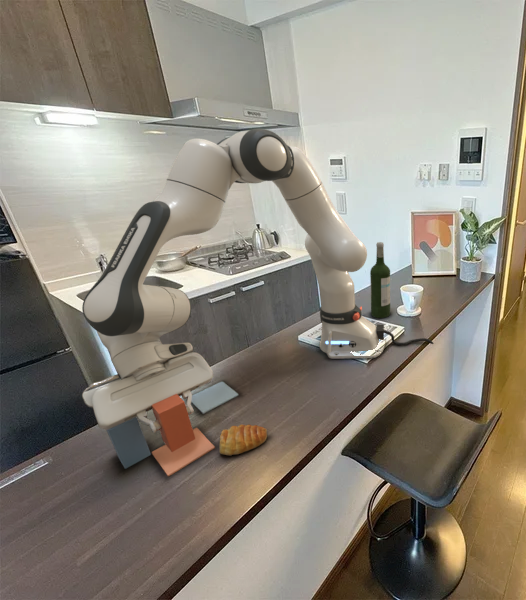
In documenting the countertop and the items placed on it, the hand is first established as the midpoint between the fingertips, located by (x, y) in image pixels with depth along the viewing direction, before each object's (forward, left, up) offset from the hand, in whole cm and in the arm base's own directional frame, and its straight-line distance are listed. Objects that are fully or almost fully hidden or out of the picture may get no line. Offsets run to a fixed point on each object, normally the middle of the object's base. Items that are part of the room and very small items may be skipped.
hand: (174, 421), depth 66 cm
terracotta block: (+1, 0, -5) cm, 5 cm away
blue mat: (+6, -17, -8) cm, 20 cm away
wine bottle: (-28, -75, -9) cm, 81 cm away
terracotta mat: (0, 0, -8) cm, 8 cm away
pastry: (-11, -4, -9) cm, 14 cm away
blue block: (+10, +2, -8) cm, 13 cm away
